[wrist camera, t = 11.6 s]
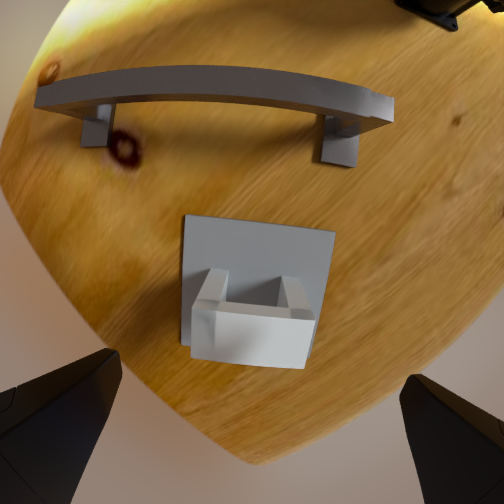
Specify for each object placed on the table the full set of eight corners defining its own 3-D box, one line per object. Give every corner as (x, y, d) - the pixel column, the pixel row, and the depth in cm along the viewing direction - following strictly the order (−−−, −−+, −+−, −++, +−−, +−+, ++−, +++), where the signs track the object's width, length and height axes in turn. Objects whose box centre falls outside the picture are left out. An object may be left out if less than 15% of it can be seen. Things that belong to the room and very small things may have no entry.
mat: (334, 231, 19) (335, 232, 19) (308, 355, 22) (309, 358, 21) (187, 214, 19) (185, 215, 19) (182, 342, 22) (181, 344, 21)
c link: (292, 316, 20) (303, 368, 14) (208, 307, 20) (190, 357, 14) (298, 277, 20) (315, 320, 14) (211, 268, 19) (191, 307, 13)
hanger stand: (359, 99, 17) (405, 67, 10) (353, 167, 18) (401, 165, 11) (94, 85, 16) (38, 60, 10) (84, 147, 18) (22, 142, 11)
